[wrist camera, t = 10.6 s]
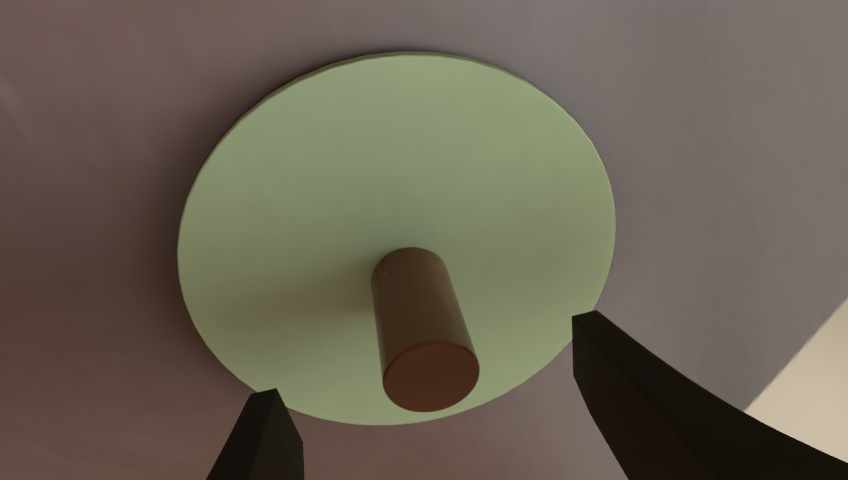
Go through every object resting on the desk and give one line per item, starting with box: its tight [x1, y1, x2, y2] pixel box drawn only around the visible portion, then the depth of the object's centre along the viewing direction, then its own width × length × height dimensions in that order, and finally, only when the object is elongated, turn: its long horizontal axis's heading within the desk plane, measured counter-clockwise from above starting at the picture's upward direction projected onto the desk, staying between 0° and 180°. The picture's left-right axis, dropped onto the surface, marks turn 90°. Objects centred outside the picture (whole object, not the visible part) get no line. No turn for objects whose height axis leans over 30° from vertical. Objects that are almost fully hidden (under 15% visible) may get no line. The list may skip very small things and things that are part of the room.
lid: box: [177, 51, 616, 425], centre depth 15 cm, size 13×13×5 cm
